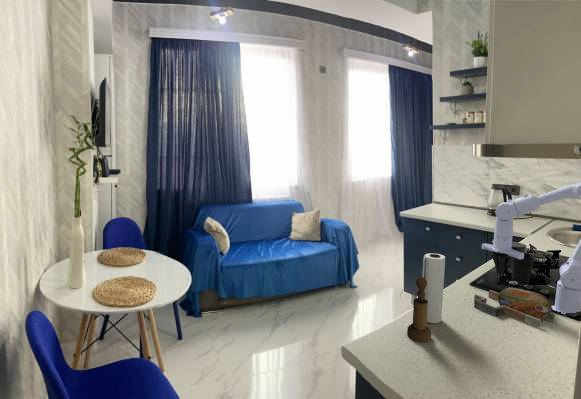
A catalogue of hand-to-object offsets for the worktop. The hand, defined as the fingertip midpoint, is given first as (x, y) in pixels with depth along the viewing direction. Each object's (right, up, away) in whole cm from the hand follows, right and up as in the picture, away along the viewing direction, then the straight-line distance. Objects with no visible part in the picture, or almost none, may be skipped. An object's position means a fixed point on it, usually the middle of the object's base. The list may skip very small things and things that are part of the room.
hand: (499, 273), depth 137 cm
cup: (+16, -7, +14) cm, 23 cm away
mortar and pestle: (-38, -14, -25) cm, 47 cm away
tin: (+1, -12, -12) cm, 17 cm away
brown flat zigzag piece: (-1, -11, -9) cm, 14 cm away
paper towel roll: (-31, -12, -15) cm, 36 cm away
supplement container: (+21, -5, +29) cm, 37 cm away
